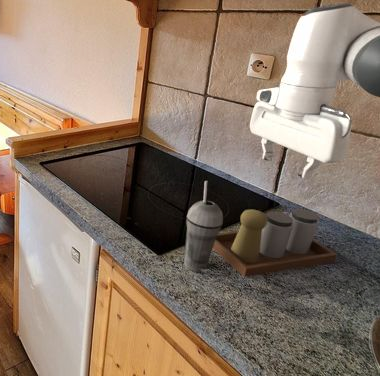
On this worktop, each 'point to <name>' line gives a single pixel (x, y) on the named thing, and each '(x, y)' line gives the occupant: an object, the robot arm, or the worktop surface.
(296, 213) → the grey shaker
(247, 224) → the cork
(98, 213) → the worktop surface
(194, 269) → the beverage cup
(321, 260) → the spice tray
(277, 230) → the cylinder
